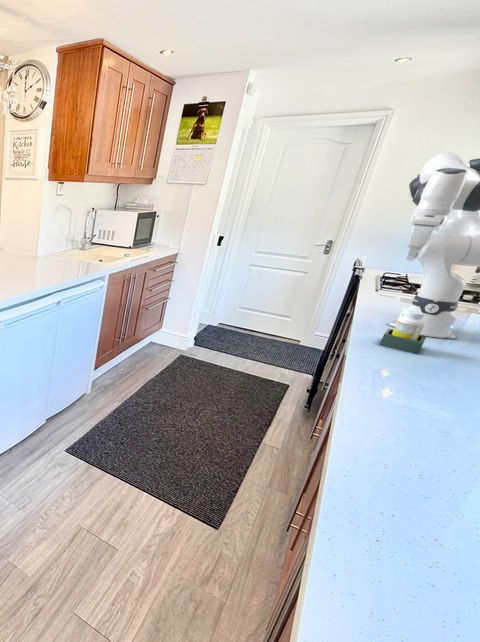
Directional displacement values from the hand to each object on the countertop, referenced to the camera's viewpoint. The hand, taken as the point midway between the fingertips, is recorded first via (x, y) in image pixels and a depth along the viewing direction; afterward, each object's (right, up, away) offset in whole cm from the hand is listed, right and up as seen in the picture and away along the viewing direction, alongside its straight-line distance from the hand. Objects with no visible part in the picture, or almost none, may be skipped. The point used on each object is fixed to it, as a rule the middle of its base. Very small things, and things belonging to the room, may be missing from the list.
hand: (411, 259), depth 143 cm
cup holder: (+2, -31, +5) cm, 32 cm away
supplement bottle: (+2, -31, +5) cm, 32 cm away
